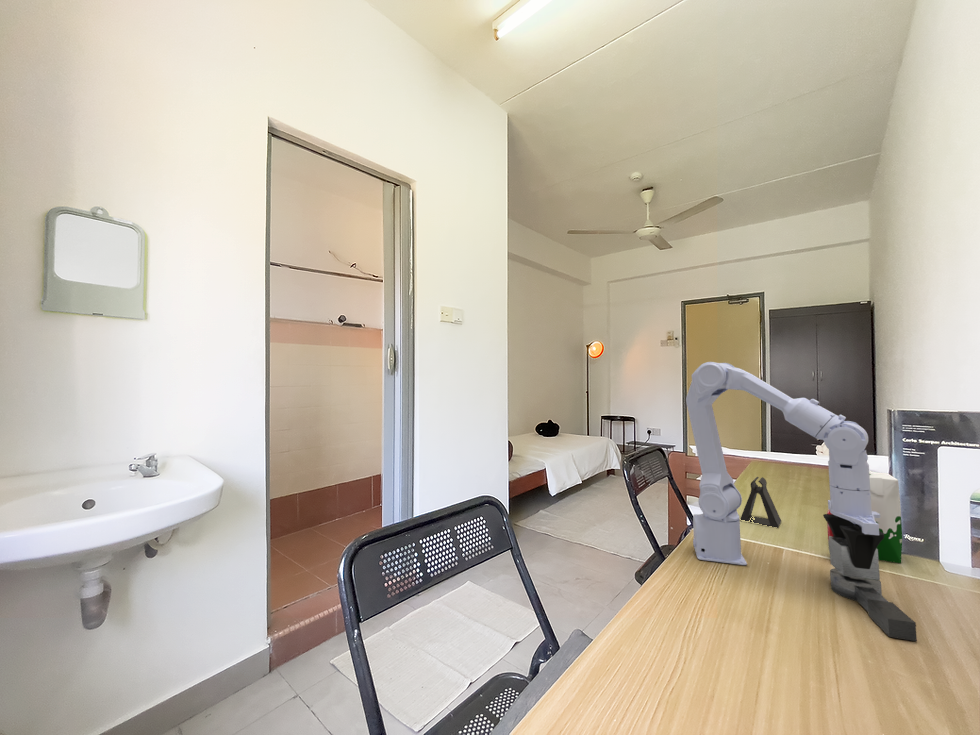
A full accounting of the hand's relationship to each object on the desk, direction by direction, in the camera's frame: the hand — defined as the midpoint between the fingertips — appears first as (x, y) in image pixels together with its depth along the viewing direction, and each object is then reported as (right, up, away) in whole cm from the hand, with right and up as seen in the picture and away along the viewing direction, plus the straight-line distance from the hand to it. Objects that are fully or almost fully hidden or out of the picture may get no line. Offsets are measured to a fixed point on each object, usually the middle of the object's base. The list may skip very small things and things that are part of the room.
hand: (853, 561), depth 74 cm
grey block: (0, -2, 0) cm, 2 cm away
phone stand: (+9, -8, +38) cm, 40 cm away
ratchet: (-2, -6, -5) cm, 8 cm away
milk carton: (+19, -7, +16) cm, 26 cm away
